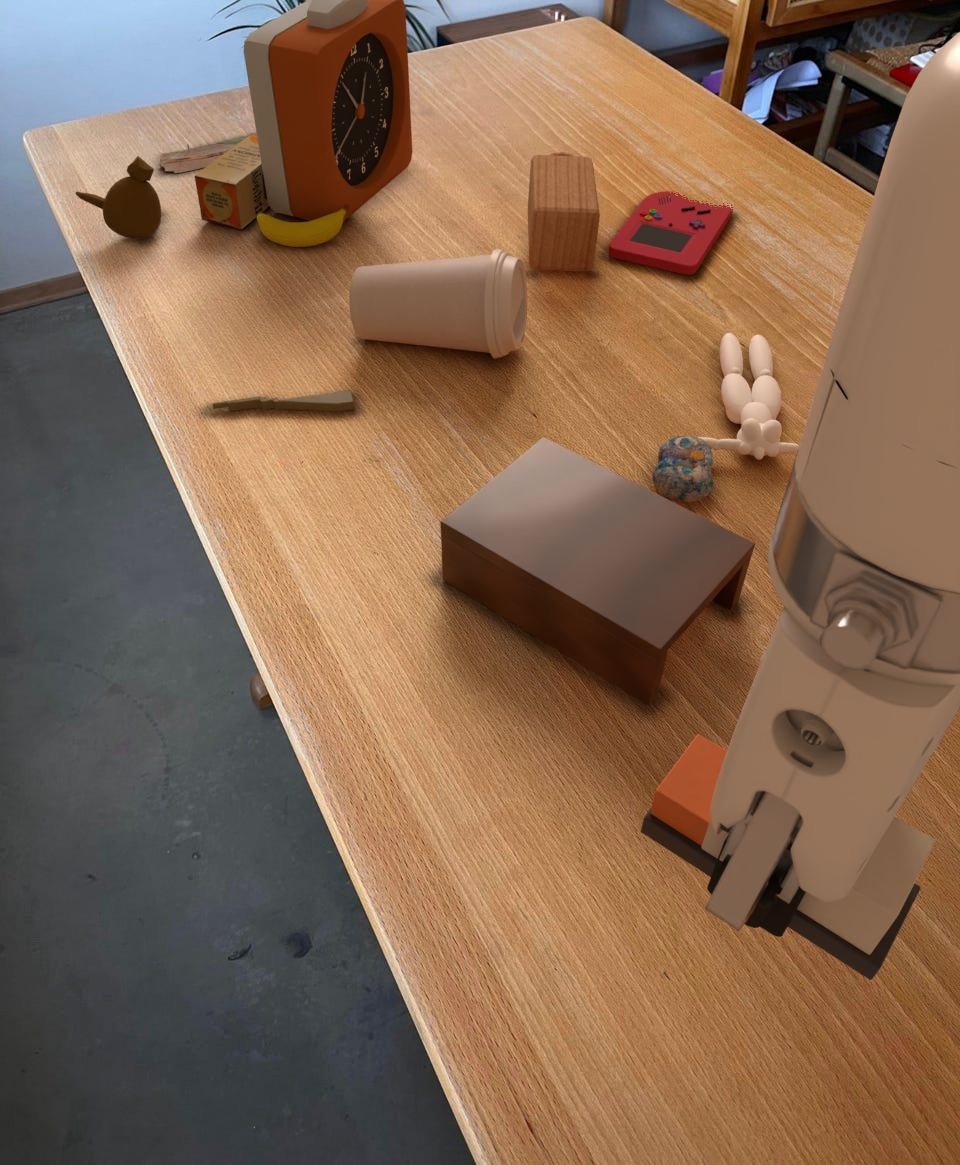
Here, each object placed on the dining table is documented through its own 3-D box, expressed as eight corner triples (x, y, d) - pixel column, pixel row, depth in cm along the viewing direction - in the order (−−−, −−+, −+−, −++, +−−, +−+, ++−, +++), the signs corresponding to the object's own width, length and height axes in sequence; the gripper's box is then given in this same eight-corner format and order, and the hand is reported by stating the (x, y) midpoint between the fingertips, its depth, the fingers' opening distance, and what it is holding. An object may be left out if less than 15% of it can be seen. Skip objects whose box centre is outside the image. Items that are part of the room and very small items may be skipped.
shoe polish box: (257, 175, 117) (202, 219, 109) (251, 133, 114) (194, 175, 106) (294, 184, 116) (241, 229, 108) (290, 141, 113) (235, 184, 105)
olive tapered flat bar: (354, 397, 89) (353, 388, 88) (354, 411, 87) (353, 402, 87) (214, 404, 88) (212, 395, 87) (212, 418, 87) (210, 409, 86)
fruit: (349, 249, 106) (352, 211, 108) (344, 236, 104) (348, 197, 106) (255, 252, 107) (260, 214, 109) (249, 239, 105) (254, 200, 107)
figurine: (181, 230, 108) (156, 216, 112) (158, 154, 103) (133, 142, 107) (113, 254, 105) (91, 239, 109) (86, 177, 100) (63, 164, 103)
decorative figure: (804, 348, 94) (831, 476, 82) (675, 340, 95) (682, 466, 83) (814, 316, 91) (842, 444, 79) (681, 308, 92) (689, 434, 80)
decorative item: (533, 209, 98) (530, 126, 111) (528, 271, 102) (526, 184, 116) (600, 212, 98) (589, 128, 111) (593, 274, 102) (583, 186, 116)
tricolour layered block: (911, 900, 39) (952, 843, 36) (870, 981, 37) (910, 929, 34) (688, 766, 43) (705, 703, 40) (639, 832, 41) (654, 772, 38)
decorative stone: (716, 504, 77) (660, 473, 76) (688, 525, 81) (635, 496, 80) (736, 440, 80) (683, 409, 79) (709, 464, 84) (658, 435, 83)
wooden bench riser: (738, 601, 72) (755, 543, 68) (648, 706, 66) (660, 649, 62) (539, 495, 80) (543, 436, 76) (442, 579, 74) (439, 521, 69)
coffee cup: (348, 365, 91) (509, 369, 88) (338, 256, 87) (507, 255, 84) (381, 344, 99) (529, 346, 96) (374, 243, 95) (528, 242, 92)
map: (327, 140, 125) (327, 133, 124) (169, 176, 118) (167, 168, 117) (310, 122, 128) (310, 115, 127) (154, 156, 120) (152, 149, 119)
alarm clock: (335, 233, 108) (311, 26, 93) (267, 215, 111) (233, 12, 96) (415, 163, 119) (406, -31, 104) (352, 149, 122) (334, -42, 107)
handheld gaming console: (735, 201, 111) (695, 264, 101) (733, 213, 112) (693, 277, 102) (653, 184, 113) (606, 244, 104) (651, 196, 114) (605, 256, 105)
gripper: (946, 846, 21) (762, 1106, 34) (1151, 438, 30) (941, 771, 43) (635, 669, 24) (579, 971, 37) (906, 348, 33) (782, 685, 46)
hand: (774, 862), depth 40 cm, fingers closed on tricolour layered block, 4 cm apart
